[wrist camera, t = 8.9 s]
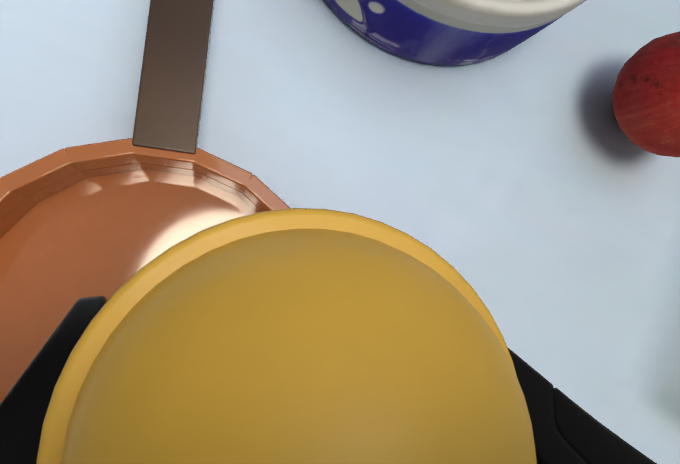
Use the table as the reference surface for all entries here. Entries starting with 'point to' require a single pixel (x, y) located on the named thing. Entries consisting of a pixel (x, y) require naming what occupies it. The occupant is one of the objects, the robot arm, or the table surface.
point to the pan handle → (173, 75)
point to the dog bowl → (449, 26)
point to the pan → (101, 229)
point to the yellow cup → (291, 356)
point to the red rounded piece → (651, 96)
